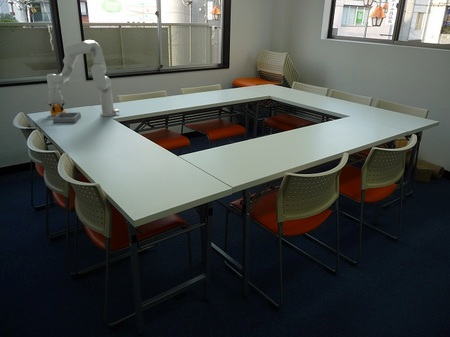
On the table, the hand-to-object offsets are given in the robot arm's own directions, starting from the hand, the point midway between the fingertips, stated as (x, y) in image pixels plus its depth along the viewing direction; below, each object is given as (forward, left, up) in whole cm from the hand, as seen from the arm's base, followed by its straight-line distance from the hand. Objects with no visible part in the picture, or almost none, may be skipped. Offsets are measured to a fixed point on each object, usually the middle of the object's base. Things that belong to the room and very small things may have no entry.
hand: (58, 111), depth 300 cm
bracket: (0, 0, -3) cm, 3 cm away
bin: (-12, +17, -3) cm, 21 cm away
